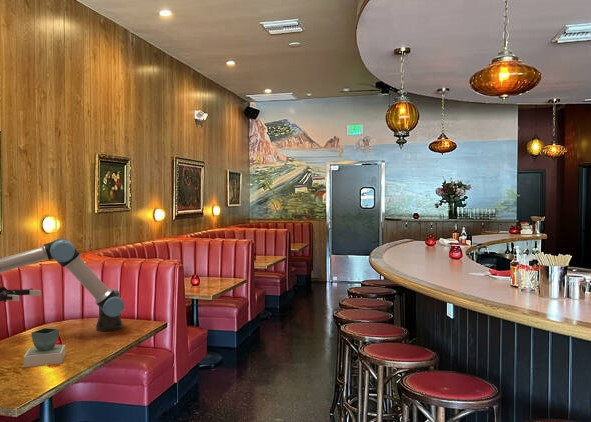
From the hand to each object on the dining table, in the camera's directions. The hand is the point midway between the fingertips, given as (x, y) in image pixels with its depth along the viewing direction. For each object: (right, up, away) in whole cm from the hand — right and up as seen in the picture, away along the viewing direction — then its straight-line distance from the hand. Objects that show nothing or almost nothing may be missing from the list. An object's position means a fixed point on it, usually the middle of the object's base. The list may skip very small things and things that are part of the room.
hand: (29, 295), depth 241 cm
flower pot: (+12, -25, -8) cm, 29 cm away
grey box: (+12, -30, -8) cm, 33 cm away
